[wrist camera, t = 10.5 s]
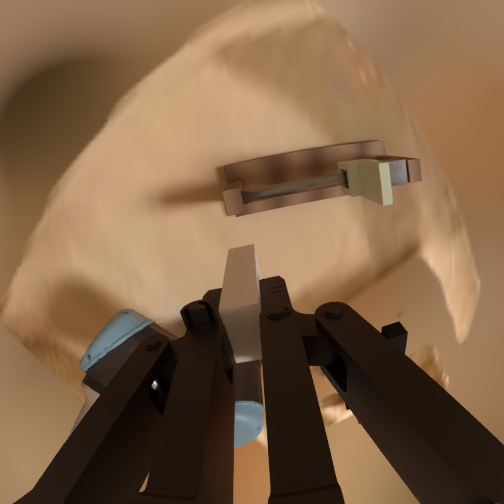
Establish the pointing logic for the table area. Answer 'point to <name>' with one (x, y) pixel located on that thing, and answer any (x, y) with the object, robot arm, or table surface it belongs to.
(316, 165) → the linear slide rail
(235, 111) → the table surface
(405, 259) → the table surface
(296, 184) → the rod
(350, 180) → the cream t-shaped block
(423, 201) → the table surface
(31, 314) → the table surface
